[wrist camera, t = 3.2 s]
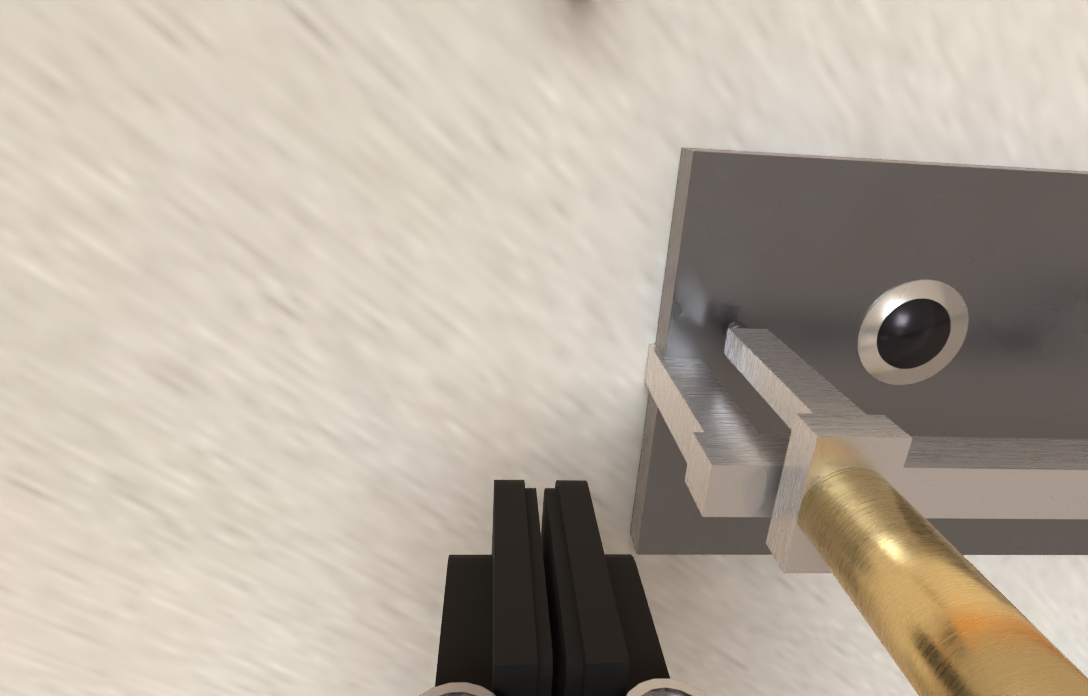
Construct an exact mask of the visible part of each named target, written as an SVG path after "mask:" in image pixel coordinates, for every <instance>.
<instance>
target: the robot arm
mask: <svg viewBox="0 0 1088 696" xmlns="http://www.w3.org/2000/svg"><path fill="white" fill-rule="evenodd" d="M420 696H707V695H706V694H705V693H703V692H702V691H701V690H699V689H697V688H695V687H693V686H691V685H689V684H687V683H685V682H681V681H677V680H673V679H670V677H669V673H668V670H667V667H666V663H665V660H664V656H663V653H662V650H661V646H660V643H659V640H658V636H657V633H656V630H655V626H654V623H653V620H652V616H651V613H650V609H649V606H648V603H647V599H646V596H645V593H644V589H643V586H642V583H641V579H640V576H639V573H638V569H637V566H636V563H635V560H634V558H633V556H632V555H604V551H603V547H602V542H601V538H600V534H599V530H598V525H597V521H596V517H595V513H594V508H593V504H592V500H591V496H590V491H589V487H588V483H587V481H570V480H557V481H556V484H555V488H545V490H544V501H543V516H542V531H541V533H540V523H539V513H538V503H537V493H536V488H525V483H524V480H494V504H493V535H492V555H449V558H448V566H447V576H446V585H445V595H444V605H443V615H442V625H441V634H440V644H439V654H438V664H437V673H436V683H435V687H433V688H432V689H430V690H428V691H427V692H425V693H423V694H422V695H420Z"/></svg>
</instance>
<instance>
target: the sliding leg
mask: <svg viewBox="0 0 1088 696" xmlns="http://www.w3.org/2000/svg"><path fill="white" fill-rule="evenodd" d="M725 337H726V342H725V347H724V354H725V355H726V356H727V358H728V359H729V360H730V361H731V362H732V363H733V364H734V366H735V367H736V368H737V369H738V370H739V371H740V372H741V373H742V375H743V376H744V377H745V378H746V379H747V380H748V381H749V383H750V384H751V385H752V386H753V387H754V388H755V389H756V390H757V392H758V393H759V394H760V395H761V396H762V397H763V398H764V399H765V401H766V402H767V403H768V404H769V405H770V406H771V407H772V409H773V410H774V411H775V412H776V413H777V414H778V415H779V416H780V418H781V419H782V420H783V421H784V422H785V423H786V424H787V426H788V427H789V428H790V429H791V430H792V431H791V436H790V440H789V444H788V449H787V453H786V457H785V462H784V466H783V470H782V475H781V479H780V483H779V488H778V492H777V496H776V501H775V505H774V509H773V514H772V518H771V522H770V527H769V531H768V535H767V540H766V544H767V546H768V548H769V549H770V551H771V553H772V554H773V556H774V558H775V559H776V561H777V563H778V564H779V566H780V568H781V569H782V571H783V572H784V573H833V575H834V576H835V578H836V579H837V580H838V582H839V583H840V585H841V586H842V588H843V589H844V590H845V592H846V593H847V595H848V596H849V598H850V599H851V600H852V602H853V603H854V605H855V606H856V607H857V609H858V610H859V612H860V613H861V615H862V616H863V617H864V619H865V620H866V622H867V623H868V624H869V626H870V627H871V629H872V630H873V632H874V633H875V634H876V636H877V637H878V639H879V640H880V641H881V643H882V644H883V646H884V647H885V649H886V650H887V651H888V653H889V654H890V656H891V657H892V659H893V660H894V661H895V663H896V664H897V666H898V667H899V668H900V670H901V671H902V673H903V674H904V676H905V677H906V678H907V680H908V681H909V683H910V684H911V685H912V687H913V688H914V690H915V691H916V693H917V694H918V695H919V696H1088V678H1087V677H1086V676H1085V675H1084V674H1083V673H1082V672H1081V671H1080V670H1079V669H1078V668H1077V667H1076V666H1075V665H1074V664H1073V663H1072V662H1071V661H1070V660H1069V659H1068V658H1067V657H1066V656H1065V655H1063V654H1062V653H1061V652H1060V651H1059V650H1058V649H1057V648H1056V647H1055V646H1054V645H1053V644H1052V643H1051V642H1050V641H1049V640H1048V639H1047V638H1046V637H1045V636H1044V635H1043V634H1042V633H1041V632H1040V631H1039V630H1038V629H1037V628H1036V627H1035V626H1034V625H1033V624H1032V623H1031V622H1030V621H1029V620H1028V619H1027V618H1026V617H1025V616H1024V615H1023V614H1022V613H1021V612H1020V611H1019V610H1018V609H1017V608H1016V607H1015V606H1014V605H1013V604H1012V603H1011V602H1010V601H1009V600H1008V599H1007V598H1006V597H1005V596H1004V595H1003V594H1002V593H1001V592H1000V591H999V590H998V589H996V588H995V587H994V586H993V585H992V584H991V583H990V582H989V581H988V580H987V579H986V578H985V577H984V576H983V575H982V574H981V573H980V572H979V571H978V570H977V569H976V568H975V567H974V566H973V565H972V564H971V563H970V562H969V561H968V560H967V559H966V558H965V557H964V556H963V555H962V554H961V553H960V552H959V551H958V550H957V549H956V548H955V547H954V546H953V545H952V544H951V543H950V542H949V541H948V540H947V539H946V538H945V537H944V536H943V535H942V534H941V533H940V532H939V531H938V530H937V529H936V528H935V527H934V526H933V525H932V524H931V523H929V522H928V521H927V520H926V519H925V518H924V517H923V516H922V515H921V514H920V513H919V512H918V511H917V510H916V509H915V508H914V507H913V506H912V505H911V504H910V503H909V502H908V501H907V500H906V499H905V498H904V497H903V496H902V495H901V494H900V493H899V492H898V491H897V487H898V483H899V480H900V477H901V474H902V471H903V467H904V464H905V461H906V458H907V454H908V451H909V448H910V445H911V442H912V437H910V436H909V435H908V434H907V433H906V432H904V431H903V430H902V429H901V428H899V427H898V426H897V425H896V424H895V423H893V422H892V421H891V420H890V419H889V418H887V417H886V416H885V415H867V414H865V413H864V412H863V411H862V410H861V409H860V408H858V407H857V406H856V405H855V404H854V403H853V402H852V401H850V400H849V399H848V398H847V397H846V396H845V395H843V394H842V393H841V392H840V391H839V390H838V389H836V388H835V387H834V386H833V385H832V384H831V383H829V382H828V381H827V380H826V379H825V378H824V377H822V376H821V375H820V374H819V373H818V372H817V371H816V370H814V369H813V368H812V367H811V366H810V365H809V364H807V363H806V362H805V361H804V360H803V359H802V358H800V357H799V356H798V355H797V354H796V353H795V352H793V351H792V350H791V349H790V348H789V347H788V346H786V345H785V344H784V343H783V342H782V341H781V340H780V339H778V338H777V337H776V336H775V335H774V334H773V333H771V332H770V331H769V330H768V329H750V328H748V327H747V326H746V325H745V324H744V323H743V322H741V321H734V322H732V323H730V324H729V325H728V326H727V327H726V329H725Z"/></svg>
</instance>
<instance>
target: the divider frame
mask: <svg viewBox="0 0 1088 696" xmlns="http://www.w3.org/2000/svg"><path fill="white" fill-rule="evenodd" d="M645 383H646V385H647V387H648V389H649V391H650V393H651V395H652V397H653V399H654V401H655V403H656V405H657V406H658V408H659V410H660V412H661V414H662V416H663V418H664V420H665V422H666V424H667V426H668V428H669V430H670V431H671V433H672V435H673V437H674V439H675V441H676V443H677V445H678V447H679V449H680V451H681V453H682V455H683V456H684V458H685V460H686V462H687V469H686V475H685V482H686V484H687V486H688V488H689V490H690V492H691V495H692V497H693V499H694V501H695V503H696V505H697V507H698V509H699V511H700V513H701V515H702V517H772V514H773V509H774V505H775V501H776V496H777V492H778V488H779V483H780V479H781V475H782V470H783V466H784V462H785V457H786V453H787V449H788V444H789V440H790V436H791V434H764V433H759V432H758V431H757V430H756V429H755V427H754V426H753V425H752V423H751V422H750V421H749V420H748V418H747V417H746V416H745V414H744V413H743V412H742V411H741V409H740V408H739V407H738V405H737V404H736V403H735V402H734V400H733V399H732V398H731V397H730V395H729V394H728V393H727V391H726V390H725V389H724V388H723V386H722V385H721V384H720V382H719V381H718V380H717V379H716V377H715V376H714V375H713V373H712V372H711V371H710V370H709V368H708V367H707V366H706V364H705V363H704V362H703V361H702V359H684V358H664V356H663V355H662V353H661V352H660V350H659V349H658V347H657V346H656V344H650V346H649V353H648V361H647V369H646V376H645ZM910 437H912V442H911V445H910V448H909V451H908V454H907V458H906V461H905V464H904V467H903V471H902V474H901V477H900V480H899V483H898V487H897V491H898V492H899V493H900V494H901V495H902V496H903V497H904V498H905V499H906V500H907V501H908V502H909V503H910V504H911V505H912V506H913V507H914V508H915V509H916V510H917V511H918V512H919V513H920V514H921V515H922V516H923V517H924V518H958V519H1088V439H1036V438H982V437H927V436H910Z"/></svg>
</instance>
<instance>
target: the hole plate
mask: <svg viewBox="0 0 1088 696" xmlns="http://www.w3.org/2000/svg"><path fill="white" fill-rule="evenodd" d="M734 321H741V322H743V323H744V324H745V325H746V326H747V327H748V328H750V329H768V330H769V331H770V332H771V333H773V334H774V335H775V336H776V337H777V338H778V339H780V340H781V341H782V342H783V343H784V344H785V345H786V346H788V347H789V348H790V349H791V350H792V351H793V352H795V353H796V354H797V355H798V356H799V357H800V358H802V359H803V360H804V361H805V362H806V363H807V364H809V365H810V366H811V367H812V368H813V369H814V370H816V371H817V372H818V373H819V374H820V375H821V376H822V377H824V378H825V379H826V380H827V381H828V382H829V383H831V384H832V385H833V386H834V387H835V388H836V389H838V390H839V391H840V392H841V393H842V394H843V395H845V396H846V397H847V398H848V399H849V400H850V401H852V402H853V403H854V404H855V405H856V406H857V407H858V408H860V409H861V410H862V411H863V412H864V413H865V414H867V415H885V416H886V417H887V418H889V419H890V420H891V421H892V422H893V423H895V424H896V425H897V426H898V427H899V428H901V429H902V430H903V431H904V432H906V433H907V434H908V435H909V436H927V437H982V438H1036V439H1088V172H1086V171H1069V170H1052V169H1035V168H1018V167H1001V166H984V165H967V164H950V163H933V162H916V161H899V160H882V159H866V158H849V157H832V156H815V155H798V154H781V153H764V152H747V151H730V150H713V149H696V148H682V150H681V158H680V165H679V173H678V180H677V188H676V195H675V203H674V210H673V218H672V225H671V233H670V240H669V247H668V255H667V262H666V270H665V277H664V285H663V292H662V300H661V307H660V315H659V322H658V330H657V337H656V346H657V347H658V349H659V350H660V352H661V353H662V355H663V356H664V358H684V359H702V361H703V362H704V363H705V364H706V366H707V367H708V368H709V370H710V371H711V372H712V373H713V375H714V376H715V377H716V379H717V380H718V381H719V382H720V384H721V385H722V386H723V388H724V389H725V390H726V391H727V393H728V394H729V395H730V397H731V398H732V399H733V400H734V402H735V403H736V404H737V405H738V407H739V408H740V409H741V411H742V412H743V413H744V414H745V416H746V417H747V418H748V420H749V421H750V422H751V423H752V425H753V426H754V427H755V429H756V430H757V431H758V432H759V433H764V434H791V431H792V430H791V429H790V428H789V427H788V426H787V424H786V423H785V422H784V421H783V420H782V419H781V418H780V416H779V415H778V414H777V413H776V412H775V411H774V410H773V409H772V407H771V406H770V405H769V404H768V403H767V402H766V401H765V399H764V398H763V397H762V396H761V395H760V394H759V393H758V392H757V390H756V389H755V388H754V387H753V386H752V385H751V384H750V383H749V381H748V380H747V379H746V378H745V377H744V376H743V375H742V373H741V372H740V371H739V370H738V369H737V368H736V367H735V366H734V364H733V363H732V362H731V361H730V360H729V359H728V358H727V356H726V355H725V354H724V347H725V342H726V337H725V329H726V327H727V326H728V325H729V324H730V323H732V322H734ZM686 469H687V462H686V460H685V458H684V456H683V455H682V453H681V451H680V449H679V447H678V445H677V443H676V441H675V439H674V437H673V435H672V433H671V431H670V430H669V428H668V426H667V424H666V422H665V420H664V418H663V416H662V414H661V412H660V410H659V408H658V406H657V405H656V403H655V401H654V399H653V397H652V395H651V393H650V391H649V397H648V404H647V412H646V419H645V427H644V434H643V442H642V449H641V457H640V464H639V472H638V479H637V487H636V494H635V502H634V509H633V516H632V524H631V531H630V534H631V537H632V540H633V544H634V547H635V550H636V553H637V554H772V553H771V551H770V549H769V548H768V546H767V544H766V540H767V535H768V531H769V527H770V522H771V518H772V517H702V515H701V513H700V511H699V509H698V507H697V505H696V503H695V501H694V499H693V497H692V495H691V492H690V490H689V488H688V486H687V484H686V482H685V475H686ZM925 519H926V520H927V521H928V522H929V523H931V524H932V525H933V526H934V527H935V528H936V529H937V530H938V531H939V532H940V533H941V534H942V535H943V536H944V537H945V538H946V539H947V540H948V541H949V542H950V543H951V544H952V545H953V546H954V547H955V548H956V549H957V550H958V551H959V552H960V553H961V554H962V555H1088V519H958V518H925Z"/></svg>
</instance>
